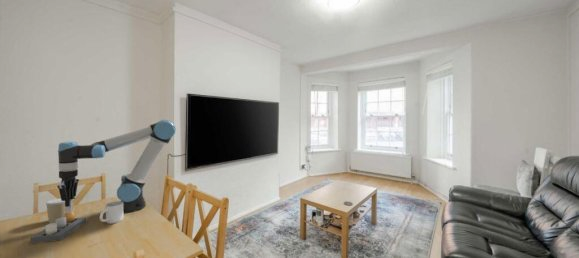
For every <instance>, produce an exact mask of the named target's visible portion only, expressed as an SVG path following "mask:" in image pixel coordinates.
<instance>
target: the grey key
mask: <svg viewBox="0 0 579 258" xmlns="http://www.w3.org/2000/svg"><path fill="white" fill-rule="evenodd" d="M56 223H57V229H63V228H65V227H66V217H61V218H58V219H56Z"/></svg>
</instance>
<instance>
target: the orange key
mask: <svg viewBox="0 0 579 258" xmlns="http://www.w3.org/2000/svg"><path fill="white" fill-rule="evenodd" d="M75 213H76V212H75V211H74V210H73V211H71V212H67V213H65V217H66V223H71V222H74V221H75V218H76V217H75V216H76V214H75Z"/></svg>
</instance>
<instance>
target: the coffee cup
mask: <svg viewBox="0 0 579 258" xmlns="http://www.w3.org/2000/svg"><path fill="white" fill-rule="evenodd" d="M45 206H46V210H47V218H48V224H50V223H56V219H58V218H61V217H65V213H67V212H65V201H61V197H59V198H53V199H50V200H48V201H47V202H46V205H45Z"/></svg>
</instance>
